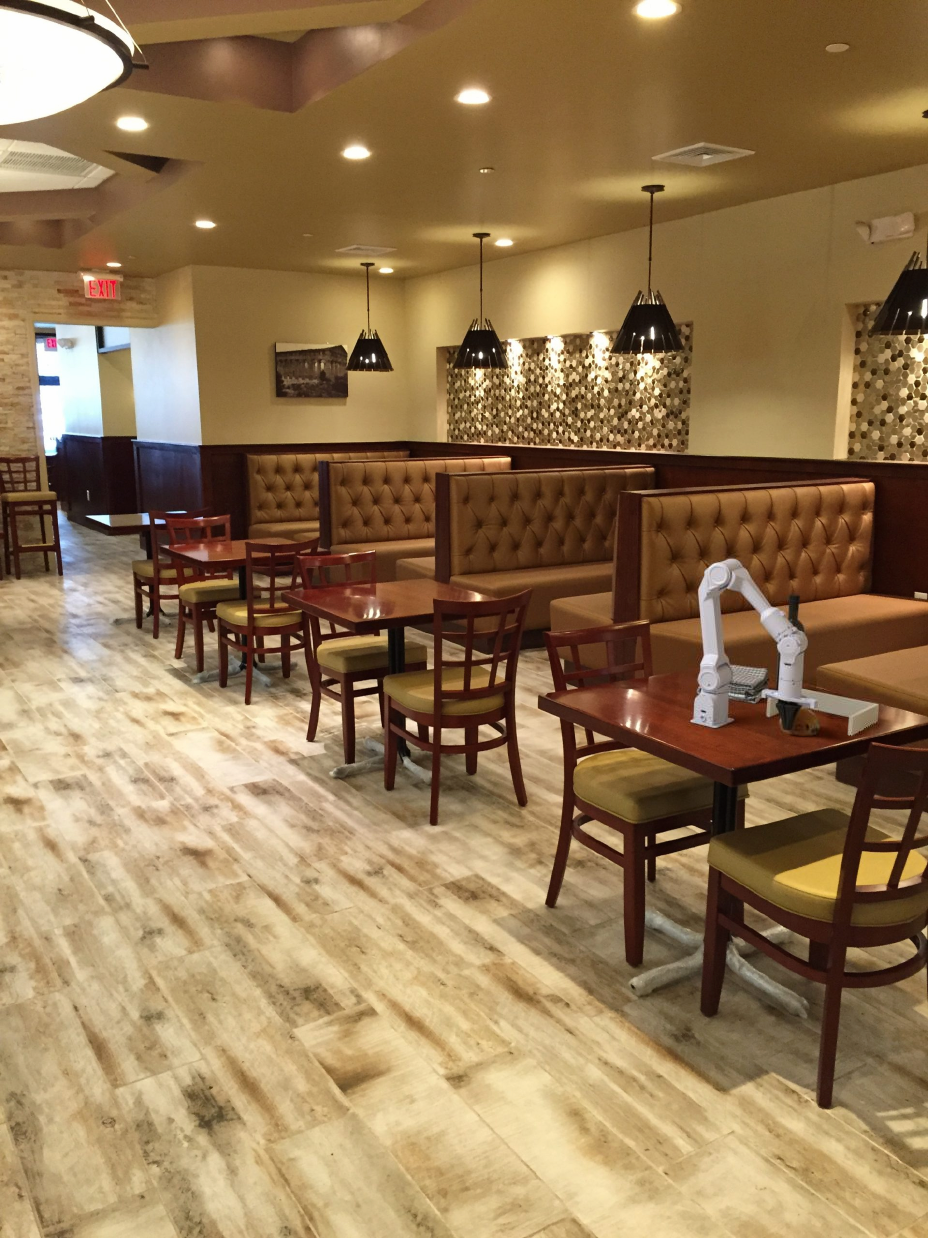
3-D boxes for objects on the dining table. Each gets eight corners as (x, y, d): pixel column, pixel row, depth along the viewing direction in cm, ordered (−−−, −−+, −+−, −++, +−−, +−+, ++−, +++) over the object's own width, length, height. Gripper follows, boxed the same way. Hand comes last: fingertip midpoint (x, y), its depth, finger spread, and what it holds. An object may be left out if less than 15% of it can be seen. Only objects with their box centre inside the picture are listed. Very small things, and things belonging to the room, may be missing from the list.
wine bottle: (774, 694, 294) (780, 594, 288) (785, 690, 298) (792, 592, 292) (790, 698, 290) (797, 597, 284) (802, 695, 293) (808, 595, 287)
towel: (712, 684, 306) (713, 660, 304) (772, 693, 296) (773, 668, 294) (694, 696, 294) (696, 670, 292) (756, 706, 284) (757, 679, 282)
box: (851, 735, 256) (852, 717, 255) (766, 716, 273) (767, 698, 272) (877, 722, 268) (878, 704, 266) (794, 704, 284) (795, 687, 283)
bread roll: (809, 738, 266) (804, 708, 267) (830, 733, 256) (824, 702, 258) (775, 741, 264) (770, 711, 265) (795, 736, 254) (790, 705, 256)
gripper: (824, 680, 251) (821, 732, 254) (772, 670, 262) (769, 719, 264) (811, 686, 247) (808, 738, 249) (758, 675, 257) (755, 725, 259)
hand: (787, 729), depth 257 cm, fingers closed
